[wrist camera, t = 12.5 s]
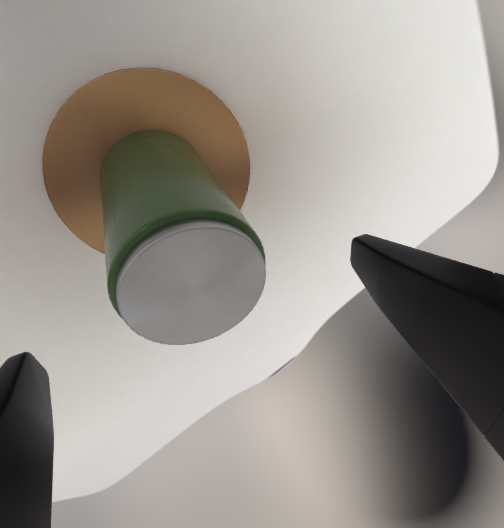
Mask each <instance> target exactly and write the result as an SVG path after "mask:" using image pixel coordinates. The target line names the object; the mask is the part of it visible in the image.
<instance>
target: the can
mask: <svg viewBox="0 0 504 528" xmlns="http://www.w3.org/2000/svg"><path fill="white" fill-rule="evenodd" d="M100 181H101V197H102V212H103V226H104V241H105V256H106V271H107V286H108V294H109V298H110V301H111V303H112V305H113V307H114V309H115V310H116V312H117V313H118V315H119V316H120V317H121V318H122V319H123V320H124V321H125V323H126V324H127V325H128V326H129V327H130V328H131V329H132V330H133V331H134V332H136V333H137V334H138V335H140V336H142V337H144V338H146V339H148V340H151V341H154V342H158V343H162V344H169V345H184V344H192V343H197V342H201V341H205V340H208V339H211V338H214V337H216V336H218V335H220V334H222V333H224V332H226V331H228V330H229V329H231V328H232V327H234V326H235V325H237V324H238V323H239V322H240V321H242V320H243V319H244V318H245V317H246V316H247V315H248V314H249V313H250V311H251V310H252V309H253V308H254V306H255V305H256V303H257V302H258V300H259V298H260V296H261V294H262V291H263V288H264V284H265V277H266V271H265V254H264V249H263V246H262V243H261V241H260V239H259V237H258V236H257V234H256V233H255V231H254V230H253V228H252V227H251V226H250V224H249V223H248V222H247V220H246V219H245V217H244V216H243V215H242V213H241V212H240V211H239V209H238V208H237V207H236V205H235V204H234V202H233V201H232V200H231V198H230V197H229V196H228V194H227V193H226V191H225V190H224V189H223V187H222V186H221V185H220V183H219V182H218V180H217V179H216V178H215V176H214V175H213V174H212V172H211V171H210V169H209V168H208V167H207V165H206V164H205V163H204V161H203V160H202V158H201V157H200V156H199V154H198V153H197V152H196V150H195V149H194V148H193V147H192V146H191V145H190V144H189V143H188V142H187V141H185V140H184V139H183V138H181V137H179V136H177V135H175V134H173V133H170V132H167V131H162V130H142V131H138V132H134V133H131V134H129V135H127V136H125V137H124V138H122V139H121V140H119V141H118V142H117V143H116V144H115V145H113V147H112V148H111V149H110V150H109V152H108V153H107V155H106V156H105V159H104V161H103V163H102V168H101V174H100Z"/></svg>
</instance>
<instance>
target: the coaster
mask: <svg viewBox="0 0 504 528" xmlns="http://www.w3.org/2000/svg"><path fill="white" fill-rule="evenodd" d="M142 130H162V131H167V132H170V133H173V134H175V135H177V136H179V137H181V138H183V139H184V140H185V141H187V142H188V143H189V144H190V145H191V146H192V147H193V148H194V149H195V150H196V152H197V153H198V154H199V156H200V157H201V158H202V160H203V161H204V163H205V164H206V165H207V167H208V168H209V169H210V171H211V172H212V174H213V175H214V176H215V178H216V179H217V180H218V182H219V183H220V185H221V186H222V187H223V189H224V190H225V191H226V193H227V194H228V196H229V197H230V198H231V200H232V201H233V202H234V204H235V205H236V207H237V208H238V209H239V211H240V209H241V207H242V204H243V202H244V200H245V196H246V193H247V190H248V184H249V178H250V160H249V153H248V148H247V143H246V140H245V138H244V135H243V132H242V130H241V128H240V126H239V124H238V122H237V120H236V119H235V117H234V116H233V114H232V113H231V111H230V110H229V109H228V108H227V107H226V106H225V104H224V103H223V102H222V101H221V100H220V99H219V98H218V97H217V96H215V95H214V94H213V93H212V92H211V91H209V90H208V89H207V88H205V87H203V86H202V85H200V84H199V83H197V82H196V81H194V80H192V79H189V78H187V77H185V76H183V75H180V74H177V73H174V72H171V71H167V70H161V69H155V68H132V69H124V70H119V71H115V72H112V73H108V74H105V75H103V76H101V77H98V78H96V79H94V80H92V81H90V82H89V83H87V84H86V85H84V86H83V87H81V88H80V89H78V90H77V91H76V92H75V93H74V94H73V95H72V96H71V97H70V98H69V99H67V101H66V102H65V103H64V104H63V106H62V107H61V108H60V110H59V111H58V112H57V114H56V116H55V118H54V120H53V122H52V123H51V125H50V128H49V131H48V134H47V137H46V140H45V145H44V151H43V176H44V182H45V187H46V190H47V193H48V196H49V199H50V201H51V203H52V205H53V207H54V209H55V211H56V212H57V214H58V215H59V217H60V218H61V220H62V221H63V222H64V224H65V225H66V226H67V227H68V228H69V229H70V230H71V231H72V232H73V233H74V234H75V235H76V236H77V237H78V238H79V239H81V240H82V241H83V242H85V243H86V244H88V245H89V246H91V247H92V248H94V249H96V250H98V251H100V252H102V253H104V254H105V241H104V226H103V212H102V197H101V181H100V174H101V168H102V163H103V161H104V159H105V156H106V155H107V153H108V152H109V150H110V149H111V148H112V147H113V145H115V144H116V143H117V142H118V141H119V140H121V139H122V138H124V137H125V136H127V135H129V134H131V133H134V132H138V131H142Z"/></svg>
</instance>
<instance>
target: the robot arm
mask: <svg viewBox="0 0 504 528" xmlns="http://www.w3.org/2000/svg"><path fill="white" fill-rule="evenodd" d="M350 261H351V265H352V267H353V269H354V270H355V272H356V273H357V275H358V276H359V278H360V280H361V281H362V283H363V284H364V286H365V287H366V289H367V290H368V292H369V293H370V295H371V296H372V298H373V300H374V301H375V303H376V304H377V305H378V307H379V308H380V309H381V311H382V312H383V313H384V314H385V316H386V317H387V318H388V319H389V320H390V322H391V323H392V324H393V325H394V327H395V328H396V329H397V330H398V331H399V333H400V334H401V335H402V336H403V338H404V339H405V340H406V341H407V343H408V344H409V345H410V346H411V347H412V349H413V350H414V351H415V352H416V353H417V355H418V356H419V357H420V358H421V360H422V361H423V362H424V363H425V364H426V366H427V367H428V368H429V369H430V371H431V372H432V373H433V374H434V375H435V377H436V378H437V379H438V380H439V382H440V383H441V384H442V385H443V387H444V388H445V389H446V390H447V391H448V393H449V394H450V395H451V396H452V398H453V399H454V400H455V401H456V403H457V404H458V405H459V406H460V407H461V409H462V410H463V411H464V412H465V413H466V415H467V416H468V417H469V418H470V420H471V421H472V422H473V423H474V425H476V427H477V428H478V429H479V431H480V432H481V433H482V434H483V435H484V436H485V438H486V439H487V441H488V442H489V443H490V444H491V446H492V447H493V448H494V449H495V451H496V452H497V453H498V454H499V455H500V457H501V458H502V459H503V460H504V275H502V274H498V273H493V272H491V271H488V270H485V269H482V268H478V267H474V266H472V265H468V264H465V263H461V262H458V261H455V260H451V259H448V258H445V257H441V256H438V255H435V254H431V253H428V252H425V251H421V250H418V249H415V248H411V247H408V246H405V245H401V244H398V243H395V242H391V241H388V240H385V239H381V238H378V237H375V236H371V235H368V234H364V235H361V236H358V237H355V238H354V239H353V240H352V245H351V257H350ZM53 452H54V430H53V418H52V407H51V396H50V385H49V377H48V374H47V371H46V370H45V369H44V367H43V366H42V365H41V364H40V363H39V362H38V361H37V360H36V359H35V357H34V356H33V355H32V354H31V353H29V352H23V353H20V354H17V355H15V356H12V357H10V358H8V359H7V360H6V361H5V363H4V364H3V365H2V367H1V368H0V528H51V507H52V505H51V504H52V480H53Z"/></svg>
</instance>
